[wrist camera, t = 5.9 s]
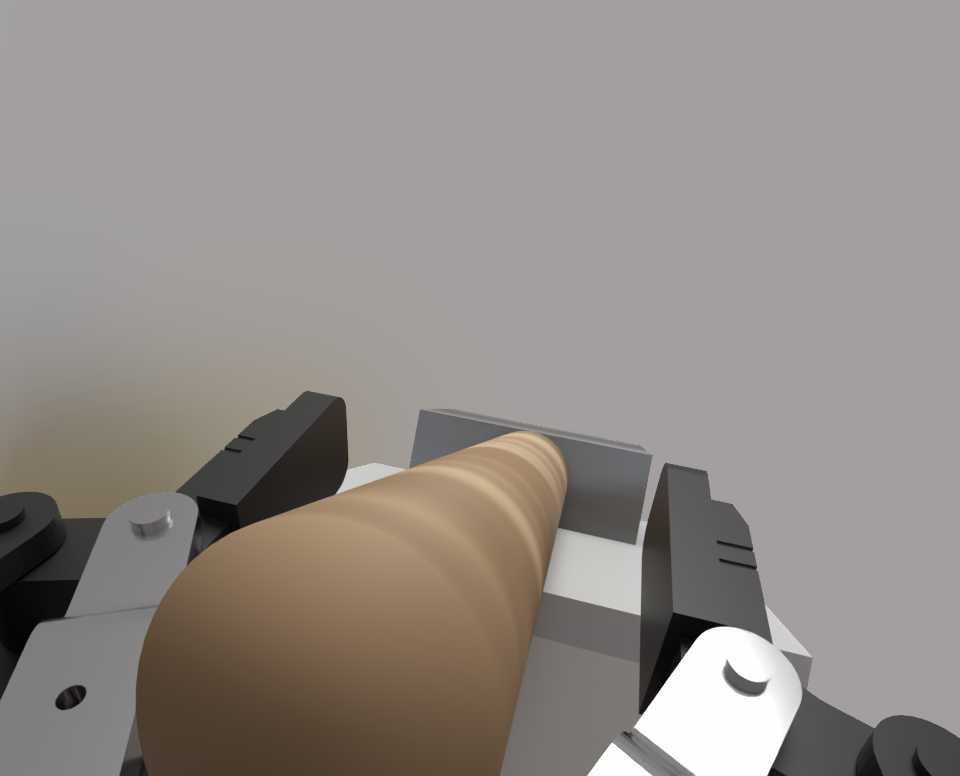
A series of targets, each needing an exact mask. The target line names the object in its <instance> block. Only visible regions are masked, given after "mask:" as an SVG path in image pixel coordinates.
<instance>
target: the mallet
mask: <svg viewBox="0 0 960 776" xmlns="http://www.w3.org/2000/svg"><path fill="white" fill-rule="evenodd" d="M651 460H652V455H651V454H650V453H649V452H647V451H646V450H645V449H643V448H642V447H641V446H639V445H635V444H629V443H624V442H619V441H614V440H609V439H604V438H599V437H593V436H588V435H583V434H578V433H573V432H568V431H562V430H558V429H552V428H548V427H542V426H537V425H532V424H527V423H522V422H517V421H511V420H506V419H501V418H496V417H491V416H486V415H481V414H475V413H471V412H465V411H461V410H455V409H421V410H420V414H419V419H418V424H417V430H416V435H415V440H414V446H413V451H412V457H411V462H410V468H409V469H407V470H404V471H401V472H398V473H395V474H392V475H390V476H387V477H384V478H381V479H378V480H375V481H373V482H370V483H367V484H364V485H361V486H358V487H356V488H353V489H350V490H347V491H344V492H341V493H339V494H336V495H333V496H330V497H327V498H324V499H322V500H319V501H316V502H313V503H310V504H307V505H305V506H302V507H299V508H296V509H293V510H290V511H288V512H285V513H282V514H279V515H276V516H273V517H271V518H268V519H265V520H262V521H259V522H256V523H254V524H251V525H249V526H246V527H244V528H242V529H239V530H237V531H235V532H232V533H230V534H228V535H227V536H225V537H223V538H222V539H220V540H219V541H217V542H215V543H214V544H212V545H210V546H209V547H208V548H207V549H206V550H204V551H203V552H202V553H201V554H199V555H198V556H197V557H196V558H195V559H193V560H192V561H191V563H190V564H189V565H188V566H187V567H186V568H185V569H184V570H183V571H182V572H181V573H180V574H179V575H178V576H177V578H176V579H175V581H174V582H173V584H172V585H171V586H170V588H169V589H168V591H167V592H166V593H165V595H164V596H163V598H162V600H161V602H160V604H159V606H158V608H157V610H156V612H155V613H154V615H153V618H152V620H151V623H150V625H149V628H148V631H147V633H146V636H145V639H144V643H143V647H142V651H141V655H140V659H139V664H138V672H137V680H136V720H137V729H138V737H139V742H140V746H141V751H142V755H143V760H144V763H145V766H146V769H147V772H148V775H149V776H500V773H501V768H502V764H503V760H504V756H505V751H506V747H507V743H508V739H509V734H510V730H511V726H512V722H513V717H514V713H515V709H516V704H517V700H518V696H519V692H520V687H521V683H522V679H523V675H524V670H525V666H526V662H527V658H528V653H529V649H530V645H531V640H532V636H533V632H534V628H535V623H536V619H537V615H538V611H539V606H540V602H541V598H542V594H543V589H544V585H545V581H546V577H547V572H548V568H549V564H550V559H551V555H552V551H553V547H554V542H555V538H556V534H557V530H558V528H561V529H565V530H570V531H574V532H578V533H583V534H587V535H592V536H596V537H601V538H605V539H610V540H614V541H619V542H623V543H627V544H632V545H636V540H637V535H638V530H639V524H640V519H641V513H642V508H643V502H644V497H645V492H646V487H647V482H648V476H649V471H650V466H651Z"/></svg>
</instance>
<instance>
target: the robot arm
mask: <svg viewBox="0 0 960 776" xmlns="http://www.w3.org/2000/svg"><path fill="white" fill-rule="evenodd" d="M347 467H348V441H347V420H346V405H345V402H344V400H343V399H342V398H340V397H335V396H330V395H325V394H320V393H315V392H310V391H306V392H304V393H303V394H301V395H300V396H299V397H298V398H297V399H296V400H295V401H294V402H293V403H292V404H291V405H290V406H289V407H288V408H287V409H286V410H285V411H283V410H279V409H277V410H275V411H273V412H271V413H269V414H267V415H264V416H262V417H260V418H258V419H256V420H254V421H253V422H252V423H251V424H250V425H249V426H248V427H246V428H245V429H244V430H243V431H242V432H241V433H240V434H239V435H238V438H234V439H233V440H232V441H231V442H230V443H229V444H228V445H227V446H226V447H225V450H224V451H223V450H221V451H220V452H219V453H218V454H217V455H216V456H215V457H213V458H212V459H211V460H210V461H209V462H208V463H207V464H206V465H205V466H203V467H202V468H201V469H200V470H199V471H198V472H197V473H196V474H195V475H194V476H192V477H191V478H190V479H189V480H188V481H187V482H186V483H185V484H184V485H183V486H182V487H180V488H179V489H178V490H177V491H176V492H157V493H151V494H147V495H143V496H140V497H137V498H135V499H132V500H130V501H128V502H126V503H125V504H123V505H121V506H120V507H119V508H117V509H115V510H114V511H113V512H112V513H111V514H110V515H109V516H108V517H107V518H83V519H82V518H80V519H79V518H78V519H62V517H61V515H60V512H59V509H58V506H57V504H56V502H55V500H54V499H53V498H52V497H50V496H48V495H46V494H43V493H38V492H20V493H13V494H8V495H4V496H1V497H0V776H149V775H148V772H147V769H146V766H145V763H144V760H143V755H142V751H141V746H140V742H139V737H138V729H137V720H136V680H137V672H138V664H139V659H140V655H141V651H142V647H143V643H144V639H145V636H146V633H147V631H148V628H149V625H150V623H151V620H152V618H153V615H154V613H155V612H156V610H157V608H158V606H159V604H160V602H161V600H162V598H163V596H164V595H165V593H166V592H167V591H168V589H169V588H170V586H171V585H172V584H173V582H174V581H175V579H176V578H177V576H178V575H179V574H180V573H181V572H182V571H183V570H184V569H185V568H186V567H187V566H188V565H189V564H190V563H191V561H192V560H193V559H195V558H196V557H197V556H198V555H199V554H201V553H202V552H203V551H204V550H206V549H207V548H208V547H209V546H210V545H212V544H214V543H215V542H217V541H219V540H220V539H222V538H223V537H225V536H227V535H228V534H230V533H232V532H235V531H237V530H239V529H242V528H244V527H246V526H249V525H251V524H254V523H256V522H259V521H262V520H265V519H268V518H271V517H273V516H276V515H279V514H282V513H285V512H288V511H290V510H293V509H296V508H299V507H302V506H305V505H307V504H310V503H313V502H316V501H319V500H322V499H324V498H327V497H330V496H333V495H335V494H336V493H337V491H338V490H339V489H340V487H341V485H342V483H343V481H344V478H345V476H346V472H347ZM752 551H753V546H752V541H751V536H750V531H749V526H748V525H747V523H746V522H745V521H744V519H743V518H742V517H741V515H740V514H739V513H738V511H737V510H736V508H735V507H734V506H733V504H729V503H725V502H720V501H715V500H711V496H710V488H709V481H708V474H707V472H706V471H703V470H698V469H693V468H688V467H683V466H678V465H673V464H668V463H665V464H664V467H663V469H662V472H661V475H660V479H659V483H658V487H657V490H656V493H655V497H654V501H653V504H652V508H651V511H650V515H649V519H648V522H647V526H646V530H645V535H644V541H643V549H642V569H641V621H640V673H639V714H641V715H643V716H642V717H641V719H640V720H639V722H638V723H637V724H636V726H635V727H634V728H633V730H632V731H631V732H630V733H627V732H626V731H624V732H622V733H621V734H619V735H618V737H617V738H616V739H615V740H614V741H613V742H612V744H611V745H610V746H609V748H608V749H607V750H606V752H605V753H604V754H603V756H602V757H601V758H600V760H599V761H598V763H597V764H596V765H595V767H594V768H593V769H592V771H591V772H590V774H589V775H588V776H960V738H958V737H957V736H956V735H954V734H952V733H951V732H949V731H947V730H946V729H944V728H942V727H940V726H938V725H936V724H933V723H932V722H929V721H926V720H923V719H920V718H916V717H912V716H904V715H899V716H891V717H888V718H886V719H884V720H882V721H881V722H880V723H879V724H878V725H877V727H876V728H875V729H874V728H873V727H870V726H869V725H867V724H865V723H863V722H861V721H859V720H857V719H855V718H853V717H851V716H850V715H847V714H846V713H844V712H842V711H840V710H838V709H836V708H834V707H832V706H831V705H829V704H827V703H825V702H824V701H822V700H820V699H818V698H817V697H816V696H814V695H813V694H811V693H810V692H808V691H807V690H806V689H805V688H804V687H803V686H801V682H800V680H799V677H798V674H797V672H796V671H795V669H794V667H793V666H792V664H791V663H790V661H789V660H788V659H787V658H786V657H785V656H784V655H783V653H782V652H781V651H780V650H778V649H777V648H776V647H775V646H774V645H773V642H772V637H771V632H770V627H769V622H768V618H767V613H766V608H765V604H764V598H763V594H762V589H761V584H760V579H759V575H758V571H756V568H757V565H756V560H755V555H754V553H753V552H752Z"/></svg>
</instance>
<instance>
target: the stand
mask: <svg viewBox="0 0 960 776" xmlns="http://www.w3.org/2000/svg"><path fill="white" fill-rule="evenodd" d="M404 470H405V469H401V468H396V467H391V466H387V465H382V464H378V463H372V464H368V465H364V466H360V467H357V468H353V469H349V470H347V472H346V476H345V478H344V481H343V483H342V485H341V487H340V489H339V490H338V491H337V493H336V494H339V493H341V492H344V491H347V490H350V489H353V488H356V487H358V486H361V485H364V484H367V483H370V482H373V481H375V480H378V479H381V478H384V477H387V476H390V475H392V474H395V473H398V472H401V471H404ZM336 494H335V495H336ZM646 526H647V522H645V521H640V524H639V530H638V535H637V540H636V545H632V544H627V543H623V542H619V541H614V540H610V539H605V538H601V537H596V536H592V535H587V534H583V533H578V532H574V531H570V530H565V529H561V528H558V530H557V534H556V538H555V542H554V547H553V551H552V555H551V559H550V564H549V568H548V572H547V577H546V581H545V585H544V589H543V594H542V598H541V602H540V606H539V611H538V615H537V619H536V623H535V628H534V632H533V636H532V640H531V645H530V649H529V653H528V658H527V662H526V666H525V670H524V675H523V679H522V683H521V687H520V692H519V696H518V700H517V704H516V709H515V713H514V717H513V722H512V726H511V730H510V734H509V739H508V743H507V747H506V751H505V756H504V760H503V764H502V768H501V773H500V776H588V775H589V774H590V772H591V771H592V769H593V768H594V767H595V765H596V764H597V763H598V761H599V760H600V758H601V757H602V756H603V754H604V753H605V752H606V750H607V749H608V748H609V746H610V745H611V744H612V742H613V741H614V740H615V739H616V738H617V737H618V735H619V734H621V733H622V732H624V731H626V732H627V733H630V732H631V731H632V730H633V728H634V727H635V726H636V724H637V723H638V722H639V720H640V719H641V717H642V716H643V715H641V714H639V673H640V621H641V569H642V549H643V541H644V535H645V530H646ZM765 608H766V613H767V618H768V622H769V627H770V632H771V637H772V642H773V645H774V646H775V647H776V648H777V649H778V650H780V651H781V652H782V653H783V655H784V656H785V657H786V658H787V659H788V660H789V661H790V663H791V664H792V666H793V667H794V669H795V671H796V672H797V674H798V677H799V680H800V682H801V686H803V687H804V688H805V689H806V690H807V685H808V680H809V674H810V670H811V664H812V659H813V658H812V656H811V655H810V654H809V653H808V652H807V651H806V650H805V649H804V647H803V646H802V645H801V644H800V643H799V642H798V641H797V640H796V639H795V637H794V636H793V635H792V634H791V633H790V632H789V631H788V630H787V628H786V627H785V626H784V625H783V624H782V623H781V622H780V621H779V620H778V618H777V617H776V616H775V615H774V614H773V613H772V612H771V611H770V610H769V608H768V607H767V606H766V605H765Z"/></svg>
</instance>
